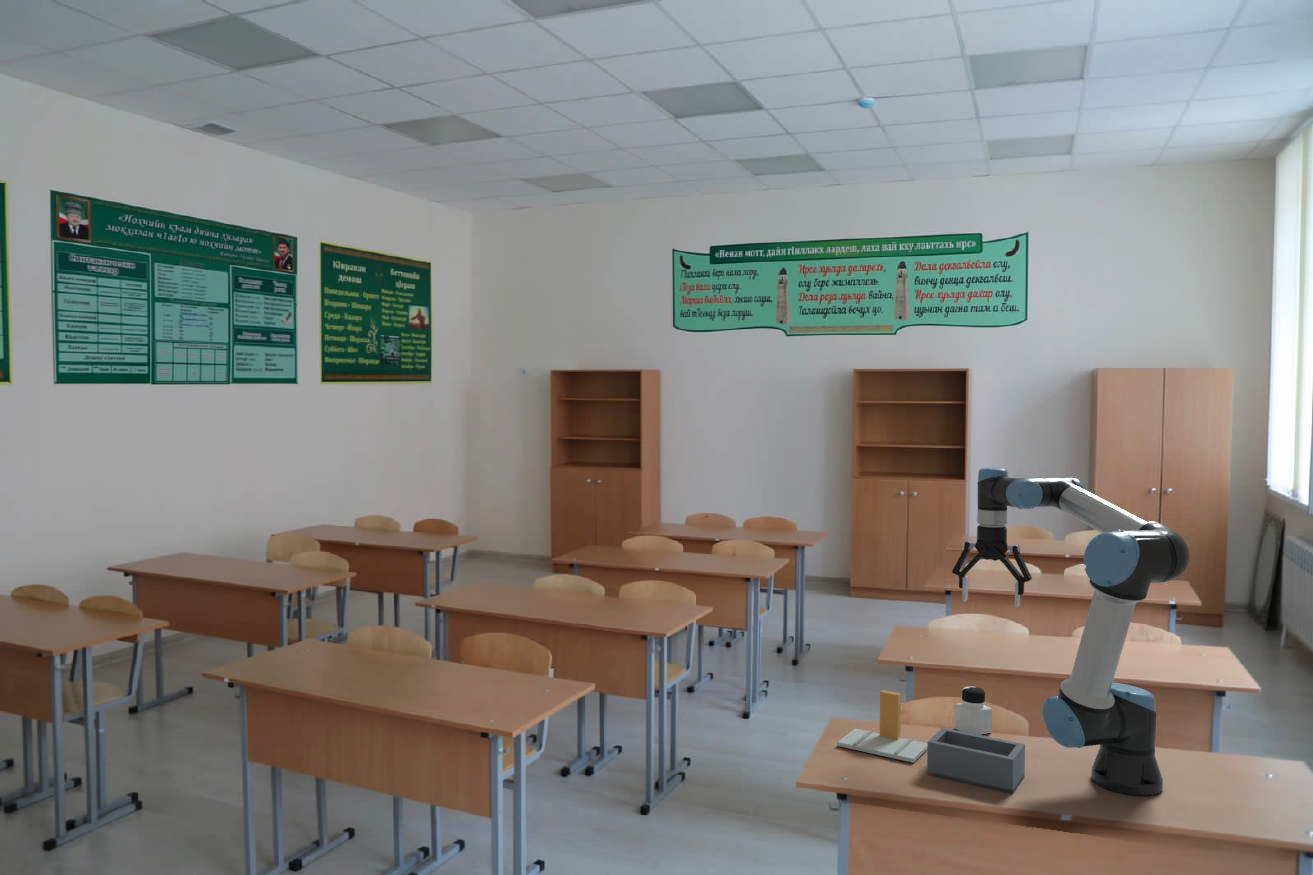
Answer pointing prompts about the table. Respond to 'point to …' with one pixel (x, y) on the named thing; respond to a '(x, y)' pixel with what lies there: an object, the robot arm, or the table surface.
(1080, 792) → the table surface
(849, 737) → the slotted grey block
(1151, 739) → the robot arm
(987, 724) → the medicine bottle
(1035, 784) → the table surface
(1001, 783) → the tub
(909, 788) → the table surface
